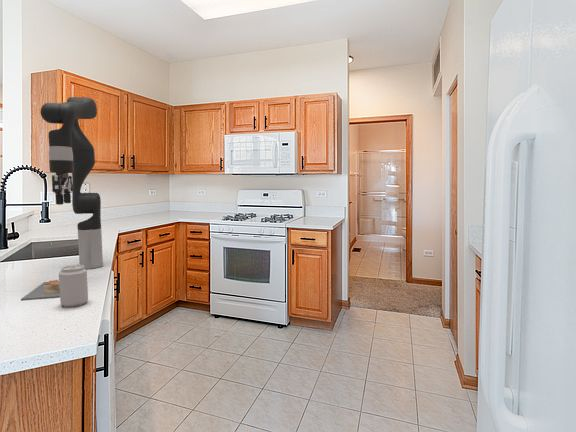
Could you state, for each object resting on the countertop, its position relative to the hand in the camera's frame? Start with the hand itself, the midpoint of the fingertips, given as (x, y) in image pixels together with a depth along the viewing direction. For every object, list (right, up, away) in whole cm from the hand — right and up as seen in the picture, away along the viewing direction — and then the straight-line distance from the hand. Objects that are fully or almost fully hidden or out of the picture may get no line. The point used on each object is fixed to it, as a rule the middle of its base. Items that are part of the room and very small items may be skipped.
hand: (63, 203), depth 131 cm
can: (+16, -32, -19) cm, 41 cm away
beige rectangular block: (+4, -31, -8) cm, 32 cm away
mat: (+1, -31, -5) cm, 31 cm away
